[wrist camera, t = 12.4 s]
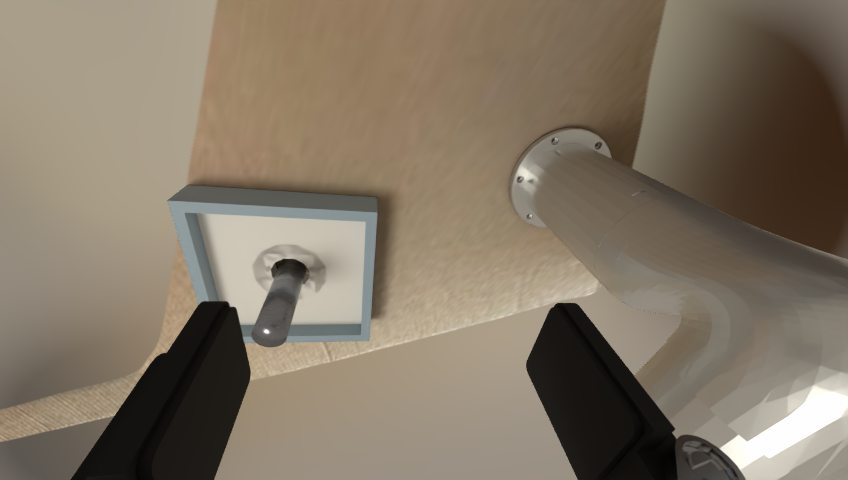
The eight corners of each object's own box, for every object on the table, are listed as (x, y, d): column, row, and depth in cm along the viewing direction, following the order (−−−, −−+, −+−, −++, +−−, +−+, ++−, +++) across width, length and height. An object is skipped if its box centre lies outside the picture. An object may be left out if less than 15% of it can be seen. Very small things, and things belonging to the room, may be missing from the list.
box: (377, 197, 38) (377, 212, 34) (369, 320, 48) (369, 341, 44) (187, 184, 34) (167, 200, 31) (222, 320, 44) (210, 343, 41)
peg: (307, 253, 40) (285, 323, 30) (308, 273, 42) (288, 346, 32) (280, 252, 40) (248, 324, 30) (282, 272, 41) (253, 347, 31)
